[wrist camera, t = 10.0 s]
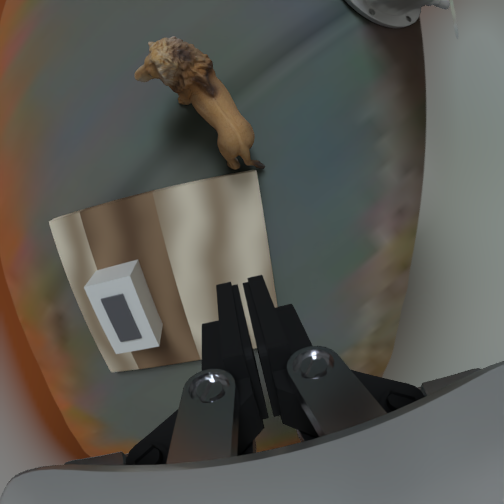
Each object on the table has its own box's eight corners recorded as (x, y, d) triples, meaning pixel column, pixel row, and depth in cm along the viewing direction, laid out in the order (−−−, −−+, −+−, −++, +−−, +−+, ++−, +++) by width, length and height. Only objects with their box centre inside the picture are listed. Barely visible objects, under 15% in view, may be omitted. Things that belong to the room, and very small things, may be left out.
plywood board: (254, 169, 29) (256, 170, 28) (279, 334, 37) (282, 341, 35) (54, 218, 28) (48, 221, 26) (113, 365, 35) (111, 372, 33)
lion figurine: (141, 85, 25) (118, 63, 16) (181, 49, 24) (174, 13, 16) (245, 184, 30) (261, 200, 22) (283, 148, 29) (314, 150, 21)
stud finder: (138, 259, 29) (129, 276, 25) (162, 324, 32) (158, 347, 28) (96, 270, 29) (83, 288, 25) (123, 332, 32) (115, 355, 28)
